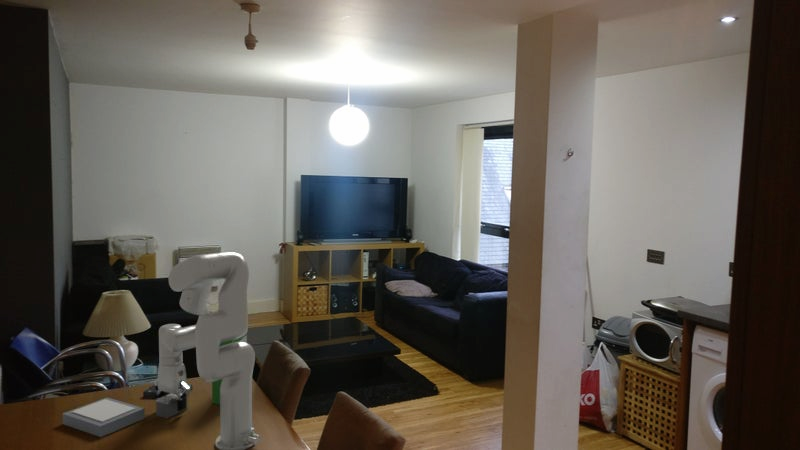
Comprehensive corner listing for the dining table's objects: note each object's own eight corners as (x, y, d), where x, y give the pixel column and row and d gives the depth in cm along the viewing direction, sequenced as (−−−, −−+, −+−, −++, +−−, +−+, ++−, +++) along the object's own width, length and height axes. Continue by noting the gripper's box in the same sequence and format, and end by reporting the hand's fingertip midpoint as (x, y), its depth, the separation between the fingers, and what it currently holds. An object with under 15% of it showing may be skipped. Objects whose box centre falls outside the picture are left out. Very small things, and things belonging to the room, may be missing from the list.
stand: (144, 418, 188) (144, 407, 188) (100, 437, 174) (100, 425, 174) (107, 407, 198) (106, 396, 197) (62, 424, 183) (62, 412, 183)
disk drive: (142, 399, 207) (180, 400, 206) (142, 391, 207) (180, 392, 206) (156, 389, 217) (193, 389, 216) (156, 382, 217) (192, 382, 216)
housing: (187, 409, 196) (187, 393, 196) (166, 419, 189) (166, 402, 188) (177, 406, 199) (177, 390, 198) (156, 416, 191) (156, 399, 190)
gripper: (197, 360, 192) (198, 408, 193) (163, 353, 200) (164, 399, 201) (179, 367, 185) (180, 416, 186) (145, 359, 193) (146, 406, 194)
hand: (172, 407), depth 194 cm, fingers open, 9 cm apart
